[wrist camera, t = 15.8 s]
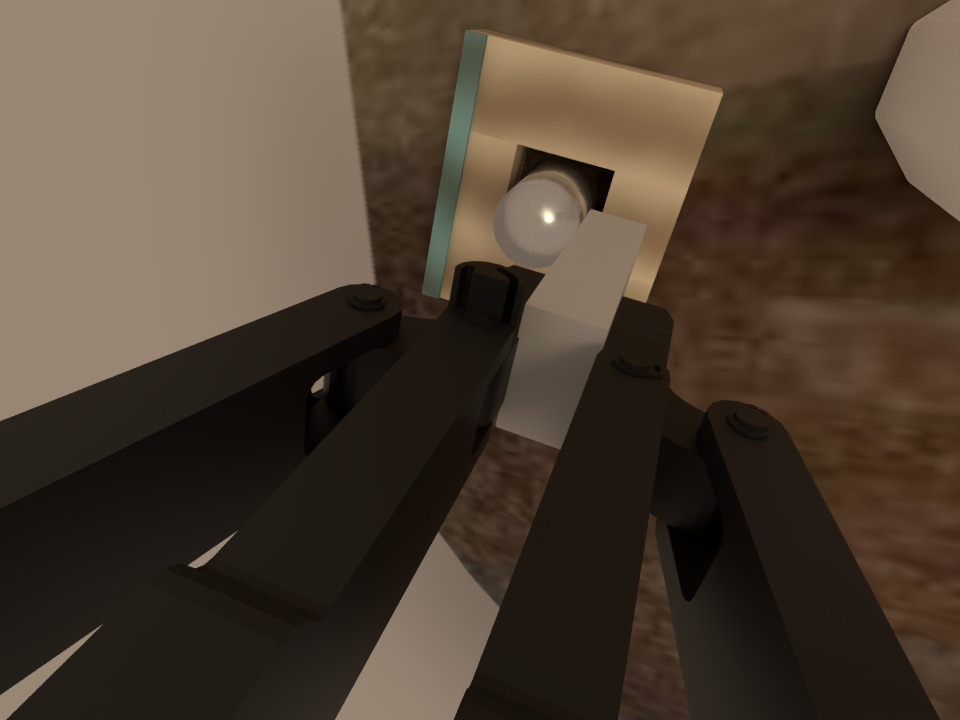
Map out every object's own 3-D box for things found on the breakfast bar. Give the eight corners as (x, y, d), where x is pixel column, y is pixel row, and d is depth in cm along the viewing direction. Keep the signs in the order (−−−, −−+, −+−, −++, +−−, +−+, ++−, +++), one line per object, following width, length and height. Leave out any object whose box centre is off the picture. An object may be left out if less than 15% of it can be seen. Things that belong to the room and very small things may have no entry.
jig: (485, 29, 38) (465, 30, 35) (721, 87, 36) (723, 94, 33) (441, 274, 46) (421, 293, 43) (630, 334, 44) (625, 359, 41)
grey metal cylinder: (538, 146, 40) (505, 171, 33) (608, 169, 40) (589, 200, 33) (518, 215, 42) (483, 252, 36) (584, 238, 42) (561, 280, 35)
